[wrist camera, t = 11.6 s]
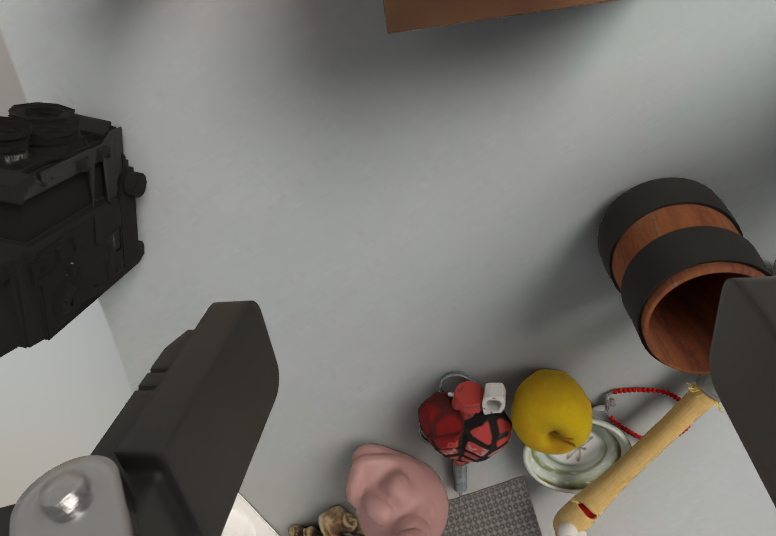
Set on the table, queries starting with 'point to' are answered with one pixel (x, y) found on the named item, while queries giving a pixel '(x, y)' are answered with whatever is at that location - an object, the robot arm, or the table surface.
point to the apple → (551, 412)
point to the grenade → (466, 422)
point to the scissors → (458, 471)
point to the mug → (674, 265)
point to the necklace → (612, 402)
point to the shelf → (463, 11)
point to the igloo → (246, 521)
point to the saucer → (578, 459)
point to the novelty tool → (635, 459)
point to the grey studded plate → (493, 512)
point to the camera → (61, 218)
